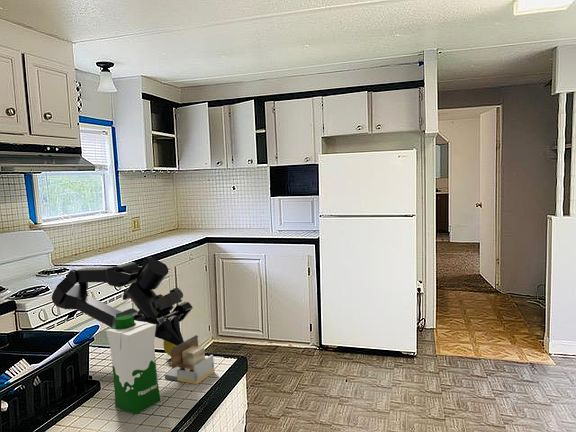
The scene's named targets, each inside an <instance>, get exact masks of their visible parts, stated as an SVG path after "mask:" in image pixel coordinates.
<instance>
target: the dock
mask: <svg viewBox="0 0 576 432" xmlns="http://www.w3.org/2000/svg"><path fill="white" fill-rule="evenodd" d="M214 360H215V359H214V355H213V354H210V355H208V356H207V357H205V359H204V360H202V361H201V362H199V363H198V364H196V365H194V366H193V369H194V372H191V371H189V370H191V369H186V368H185V370H186V371H185V370H179V369H180V367H178V366H177V367H175V368H172V369H171V370H170V371H168V372H167V373H165V374H164V379H166V378H167V379H166V380H171V379H172V380H171V381H177V382H182V383H183V382H184V383H187V384H194V385H197V384H199V383H201V382H202V381H203V380H205V379H207V378H208V377H209V376H211V375H213V374H214V373H215V361H214Z"/></svg>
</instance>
